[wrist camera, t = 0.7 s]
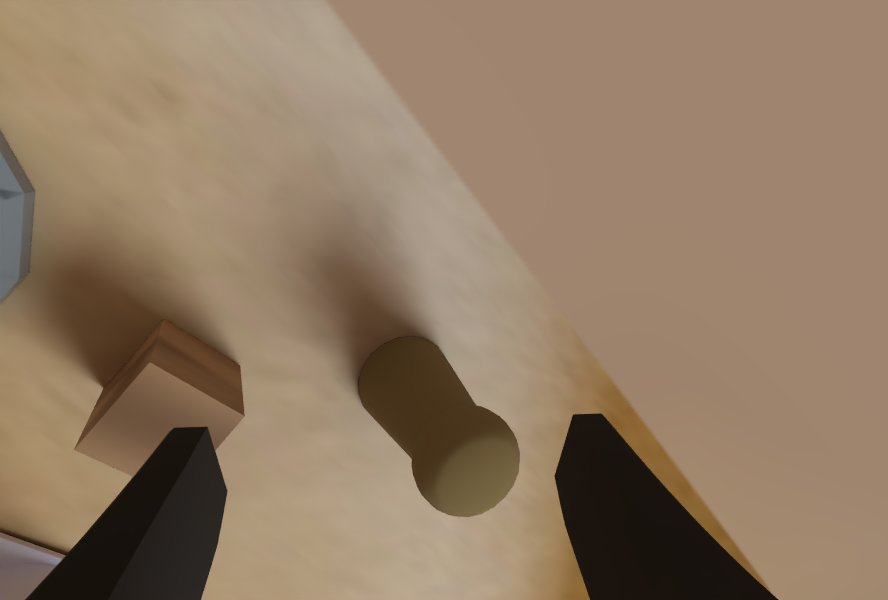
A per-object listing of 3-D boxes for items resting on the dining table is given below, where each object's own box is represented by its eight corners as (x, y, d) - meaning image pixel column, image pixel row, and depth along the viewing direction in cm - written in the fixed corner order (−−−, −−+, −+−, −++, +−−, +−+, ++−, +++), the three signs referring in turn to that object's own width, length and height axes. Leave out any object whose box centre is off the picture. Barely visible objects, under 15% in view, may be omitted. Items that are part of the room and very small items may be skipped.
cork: (366, 333, 31) (433, 420, 21) (456, 338, 33) (553, 418, 24) (351, 425, 32) (407, 547, 22) (439, 423, 35) (524, 532, 25)
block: (185, 430, 28) (176, 496, 23) (103, 388, 26) (74, 449, 21) (240, 365, 29) (244, 416, 23) (163, 318, 26) (149, 362, 21)
